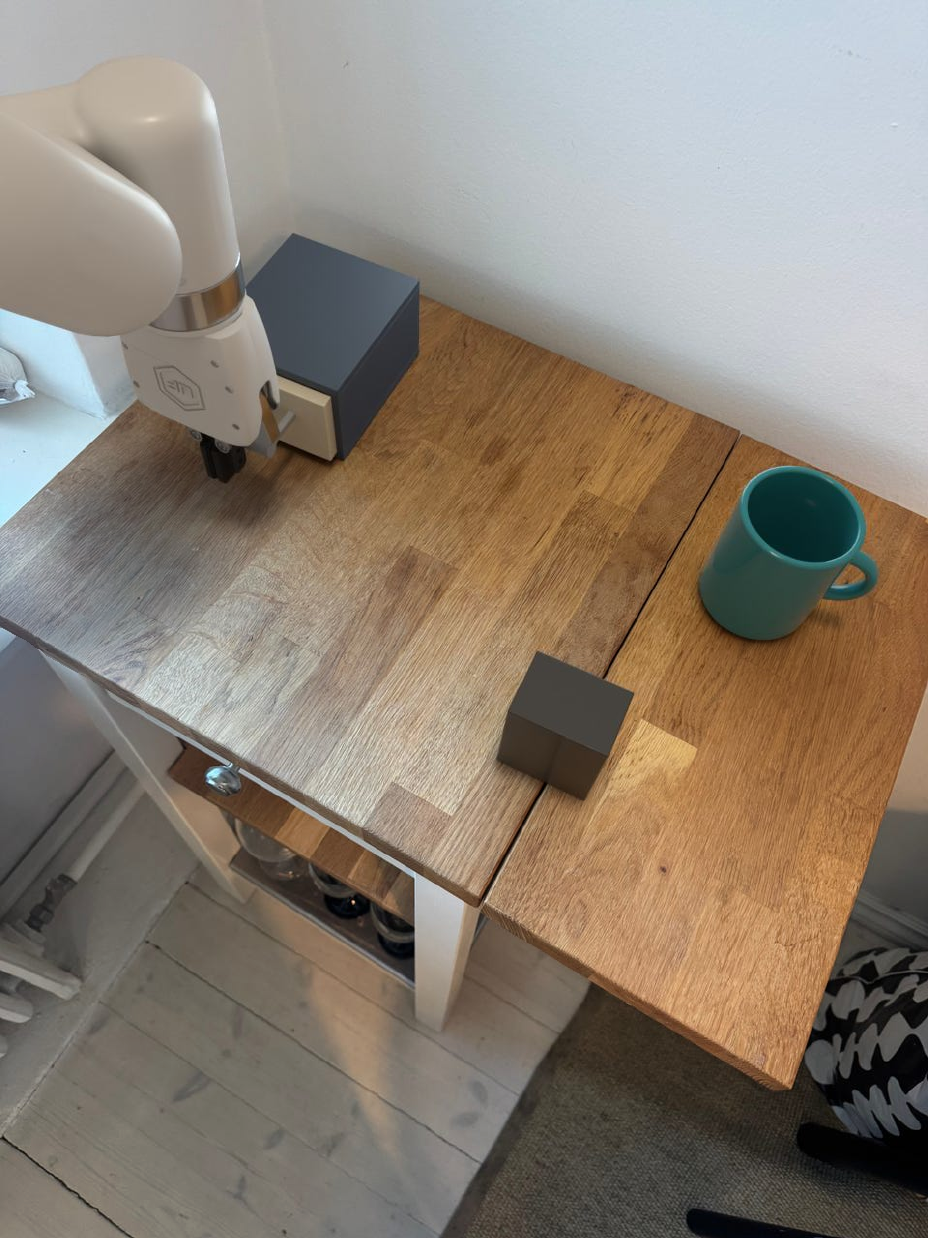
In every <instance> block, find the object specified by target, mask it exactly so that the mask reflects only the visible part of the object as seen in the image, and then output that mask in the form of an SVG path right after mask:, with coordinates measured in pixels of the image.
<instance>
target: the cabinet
mask: <svg viewBox="0 0 928 1238" xmlns="http://www.w3.org/2000/svg"><path fill="white" fill-rule="evenodd" d="M420 280H421V279H420V278H417V277H413V276H411V275H408V274H406V273H403V272H400V271H397V270H396V269H392V268H389V267H388V266H384V265H382V264H379V263H376V262H374V261H370V260H368V259H365V258H362V257H359V256H357V255H354V254H352V253H348V252H346V251H343V250H341V249H338V248H336V247H334V246H330V245H327V244H324V243H322V242H318V241H317V240H314V239H312V238H311V239H310V238H309V237H306V236H303V235H300V234H297V233H294V232H292V233H291V234H290V236H288V238H287V239H286V240H285V241H284V242H283V244H281V246H280V247H279V248H278V249H277V250H276V251H275V252H274V254H272V256H271V257H270V258H269V259H268V261H266V262H265V264H264V265H263V266H262V267H261V268H260V269H259V270H258V272H257V273H256V274H255V275H254V277H253V278H251V280H250V281H248V283H247V284H245V288H246V295H247V296H249V297H250V298H251V299H253V301H254V303H255V306H256V308H257V310H258V313H259V315H260V318H261V321H262V324H263V326H264V329H265V332H266V336H267V339H268V342H269V345H270V349H271V353H272V357H273V361H274V365H275V369H276V374H279V375H281V376H284V377H286V378H289V379H291V380H294V381H296V382H299V383H301V384H304V385H306V386H309V387H311V388H314V389H316V390H319V391H321V392H324V393H326V394H329V396H330V397H331V403H332V411H333V420H334V429H335V438H336V447H337V453H336V454H335V455H334V457H333V458H337V459H339V460H341V461H345V460H346V458H348V456H349V454H350V453H351V451H353V448H354V447H355V446H356V444H357V443H358V442H359V440H360V439H361V437H362V436H363V434H364V433H365V432H366V430H367V429H368V427H369V426H370V425H371V423H372V422H373V420H374V419H375V417H376V416H377V414H378V413H379V412H380V410H381V408H382V407H383V406H384V404H385V403H386V402H387V400H388V399H389V397H390V396H391V394H392V393H393V391H394V390H395V388H396V387H397V386H398V384H399V383H400V382H401V380H402V379H403V376H405V374H406V373H407V371H408V370H409V368H410V367H411V365H412V364H413V363H414V361H415V360H416V358H417V357H418V355H419V354H420V287H421V284H420V283H421V282H420Z"/></svg>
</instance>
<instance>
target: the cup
mask: <svg viewBox="0 0 928 1238" xmlns="http://www.w3.org/2000/svg"><path fill="white" fill-rule="evenodd" d="M866 535H867V523H866V517H865V514H864V511H863V509H862V507H861V505H860V503H859V502H858V500H857V499H856V497H855V496H854V495H853V494H852V493H851V492H850V490H849V489H848V488H846V487H845V486H844V485H843V484H842V483H840V482H839V481H838V480H836V479H834V478H833V477H831V476H830V475H828V474H826V473H824V472H821V471H819V470H816V469H813V468H809V467H806V466H805V467H804V466H798V465H782V466H775V467H771V468H768V469H766V470H763V471H760V473H758V474H756V475H755V476H754V477H753V478H751V479H750V480H749V481H748V483H747V484H746V485H745V487H744V488H743V490H742V492H741V494H740V495H739V497H738V499H737V502H736V503H735V505H734V507H733V509H732V510H731V512H730V514H729V517H728V518H727V520H726V521H725V524H724V526H723V527H722V529H721V532H720V533H719V535H718V537H717V539H716V541H715V542H714V544H713V547H711V550H710V552H709V554H708V556H707V558H706V560H705V561H704V563H703V566H702V568H701V570H700V573H699V579H698V585H699V586H698V587H699V588H698V589H699V594H700V598H701V601H702V604H703V605H704V608H705V609H706V611H707V612H708V613H709V615H710V616H711V617H712V618H713V620H715V622H716V623H718V624H719V625H720V626H721V627H722V628H724V629H726V631H729V632H730V633H733V634H734V635H737V636H738V637H742V638H744V639H745V638H746V639H750V640H754V641H772V640H776V639H778V640H779V639H781V638H783V637H787V636H788V635H790V634H792V633H793V632H795V631H796V630H797V629H798V628H799V627H800V626H801V625H802V624H803V623H804V622H805V621H806V619H807V618H808V617H809V616H810V614H811V613H812V612H813V611H814V610H815V608H816V607H817V605H818V604H819V603H820V602H821V600H826V601H834V602H845V601H852V600H857V599H860V598H862V597H865V596H867V595H868V594H870V593H871V592H872V591H873V590H874V589H875V588H876V586H877V585H878V582H879V576H880V573H879V572H880V571H879V567H878V565H877V563H876V561H875V560H874V559H873V557H871V556H870V555H869V554H868V553H867V552H864V550H861V549H862V548H863V546H864V543H865V541H866ZM849 565H851V566H852V567H853V566H854V567H855V568H857V569H858V570H860V571H861V572H862V573H863V575H864V577H862V578H861V579H859V580H858V581H856V582H852V583H847V584H846V583H845V584H837V583H836V582H837V580H838V579H839V578H840V576H841V575H842V574H843V573H844V572H845V570H846V569H847V568H848V566H849Z"/></svg>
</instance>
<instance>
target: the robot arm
mask: <svg viewBox="0 0 928 1238" xmlns="http://www.w3.org/2000/svg"><path fill="white" fill-rule="evenodd" d="M234 216H235V215H234V209H233V203H232V198H231V191H230V185H229V180H228V172H227V168H226V161H225V154H224V148H223V142H222V137H221V129H220V124H219V118H218V114H217V109H216V104H215V100H214V98H213V96H212V93H211V91H210V89H209V88H208V86H207V85H206V83H205V82H204V81H203V79H202V78H201V77H200V76H199V75H198V74H197V73H195V72H194V71H193V70H192V69H191V68H189V67H187V66H185V65H184V64H182V63H179V62H177V61H175V60H173V59H169V58H165V57H162V56H157V55H148V54H147V55H144V54H135V55H124V56H119V57H115V58H111V59H107V60H104V61H102V62H100V63H97V64H95V65H94V66H92V67H91V68H90V69H88V70H87V71H86V72H85V73H84V74H83V75H82V76H80V78H78V79H77V80H76V81H73V82H68V83H65V84H60V85H57V86H52V87H45V88H41V89H35V90H31V91H25V92H19V93H12V94H6V95H1V96H0V310H3V311H6V312H9V313H13V314H16V315H18V316H20V317H21V316H22V317H25V318H28V319H31V320H34V321H36V322H37V321H38V322H41V323H43V324H47V325H50V326H52V327H56V328H59V329H62V330H66V331H67V332H71V333H75V334H78V335H83V336H89V337H105V338H110V337H118V336H119V339H120V345H121V349H122V355H123V358H124V362H125V366H126V370H127V374H128V377H129V380H130V384H131V386H132V389H133V392H134V394H135V396H136V398H137V400H138V401H139V402H140V403H141V404H142V405H143V406H145V407H146V408H148V409H149V410H151V411H153V412H155V413H156V414H159V415H161V416H163V417H166V418H168V419H170V420H172V421H174V422H177V423H179V424H181V425H183V426H185V428H186V430H187V434H188V435H189V436H190V437H191V439H193V440H194V441H196V442H199V444H198V445H199V449H200V453H201V457H202V460H203V465H204V468H205V472H206V475H207V477H208V478H211V479H213V480H216V479H217V480H218V482H220V483H222V484H224V485H227V484H228V483H229V482H230V480H231V479H232V478H233V477H234V475H235V474H239V473H240V472H241V471H242V470H243V469H244V468H245V466H246V463H247V454H246V448H244V446H249V445H250V444H251V443H252V442H254V443H258V444H262V445H266V446H271V445H272V444H273V443H274V442H275V440H276V439H277V438H278V437H279V435H280V431H279V428H278V426H277V423H276V421H275V418H274V416H273V413H272V412H277V411H278V410H279V408H280V395H279V386H278V380H277V375H276V369H275V365H274V361H273V357H272V353H271V349H270V345H269V342H268V339H267V336H266V332H265V329H264V326H263V324H262V321H261V318H260V315H259V313H258V310H257V308H256V306H255V303H254V301H253V299H251V298H250V297H249V296H247V295H246V288H245V287H246V283H245V277H244V272H243V271H244V270H243V265H242V258H241V253H240V247H239V242H238V236H237V235H238V234H237V230H236V222H235V217H234Z"/></svg>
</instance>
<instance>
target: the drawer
mask: <svg viewBox="0 0 928 1238" xmlns="http://www.w3.org/2000/svg"><path fill="white" fill-rule="evenodd" d="M277 380H278V386H279V395H280V408H279V410H278V411H277V412H272V413H273V416H274V418H275V421H276V423H277V426H278V428H279V431H280V435H279V437H278V438H277V439H276V440H275V442H274V443H273V444H272V445H271V446H266V445H262V444H258V443H254V442H252V443H251V444H250V445H249V446H244V448H245V450H248V451H250V452H253V453H256V454H258V455H260V456H262V457H265V458H268V459H271V458H272V457H274V455H275V453H276V451H277V444H278V442H279V441H281V442H284V443H286V444H288V445H289V446H293V447H295V448H298V449H300V450H303V451H305V452H307V453H310V454H312V455H315V456H317V457H319V458H322V459H324V460H326V461H328V462H331V461H332V460H333V458H335V457H334V455H335V454H336V453H337V447H336V438H335V429H334V420H333V411H332V403H331V397H330V396H329V394H326V393H325V394H322V393H320V392H317V391H315V390H312V389H310V388H307V387H305V386H303V385H300V384H298V383H295V382H293V381H290V380H288V379H285V378H283V377H280V376H278V375H277Z"/></svg>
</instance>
